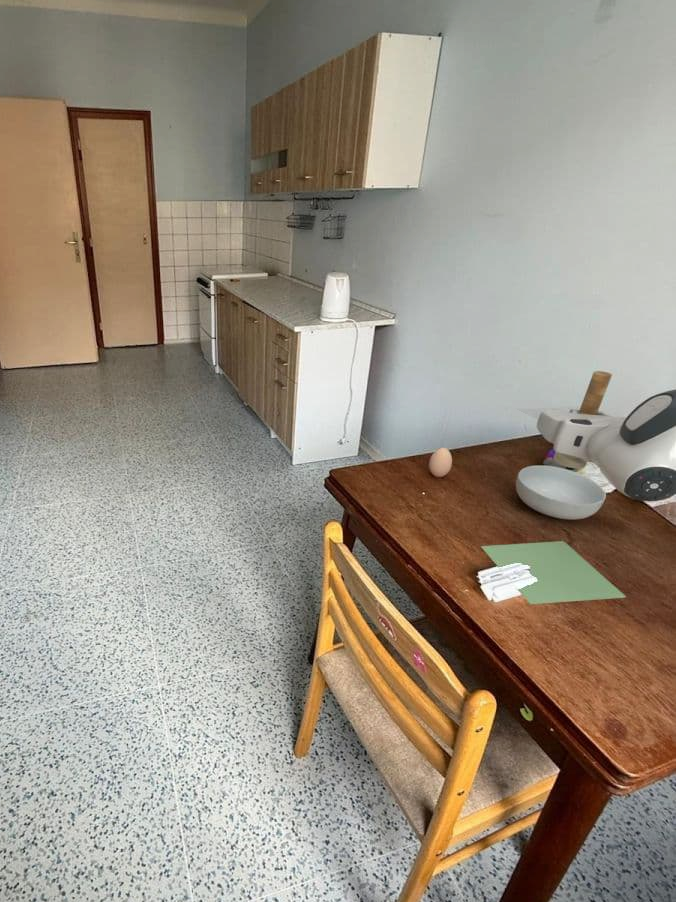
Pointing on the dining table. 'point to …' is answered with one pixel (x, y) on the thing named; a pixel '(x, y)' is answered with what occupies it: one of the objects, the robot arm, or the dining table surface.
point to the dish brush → (588, 407)
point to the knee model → (550, 462)
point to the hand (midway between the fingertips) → (585, 413)
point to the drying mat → (554, 572)
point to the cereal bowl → (559, 492)
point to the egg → (440, 462)
